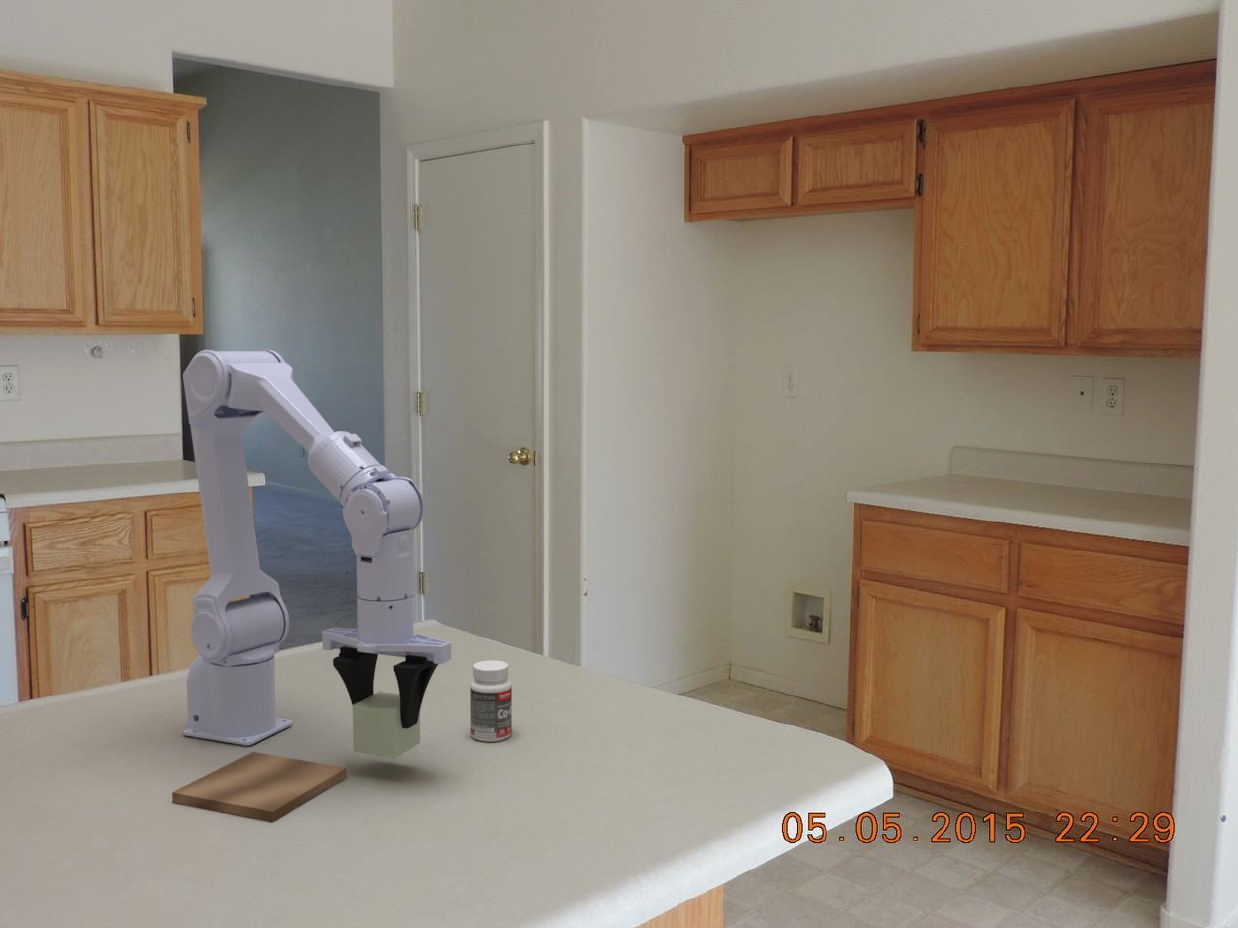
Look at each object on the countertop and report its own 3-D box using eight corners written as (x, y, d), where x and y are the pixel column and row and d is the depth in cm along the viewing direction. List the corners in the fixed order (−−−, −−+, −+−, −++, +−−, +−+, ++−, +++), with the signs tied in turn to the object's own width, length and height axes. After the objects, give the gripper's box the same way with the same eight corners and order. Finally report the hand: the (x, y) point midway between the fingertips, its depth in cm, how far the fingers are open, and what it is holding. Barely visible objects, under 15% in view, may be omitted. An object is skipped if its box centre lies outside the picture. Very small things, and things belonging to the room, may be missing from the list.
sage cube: (353, 751, 118) (352, 705, 118) (380, 736, 123) (379, 691, 122) (394, 758, 116) (394, 711, 116) (420, 742, 121) (419, 696, 120)
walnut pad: (172, 801, 111) (172, 792, 111) (253, 760, 122) (252, 751, 122) (272, 821, 107) (272, 811, 107) (346, 776, 118) (346, 767, 118)
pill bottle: (504, 744, 128) (504, 672, 127) (464, 740, 129) (464, 669, 128) (516, 730, 133) (516, 660, 132) (478, 727, 134) (478, 658, 133)
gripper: (303, 596, 117) (306, 724, 118) (425, 610, 111) (427, 743, 113) (343, 583, 123) (345, 704, 125) (461, 595, 118) (461, 721, 119)
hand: (386, 721), depth 119 cm, fingers closed on sage cube, 5 cm apart
